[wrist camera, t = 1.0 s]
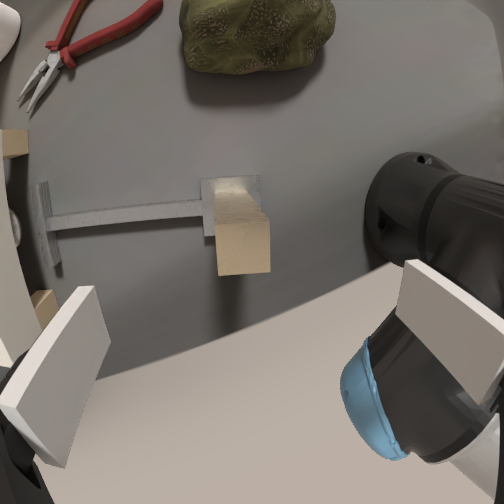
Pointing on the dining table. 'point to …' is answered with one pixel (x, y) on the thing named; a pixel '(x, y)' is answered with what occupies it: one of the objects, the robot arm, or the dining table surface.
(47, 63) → the pliers
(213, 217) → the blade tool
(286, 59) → the decorative rock
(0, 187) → the cabinet
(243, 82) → the dining table surface
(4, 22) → the wine bottle
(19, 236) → the steel disc
